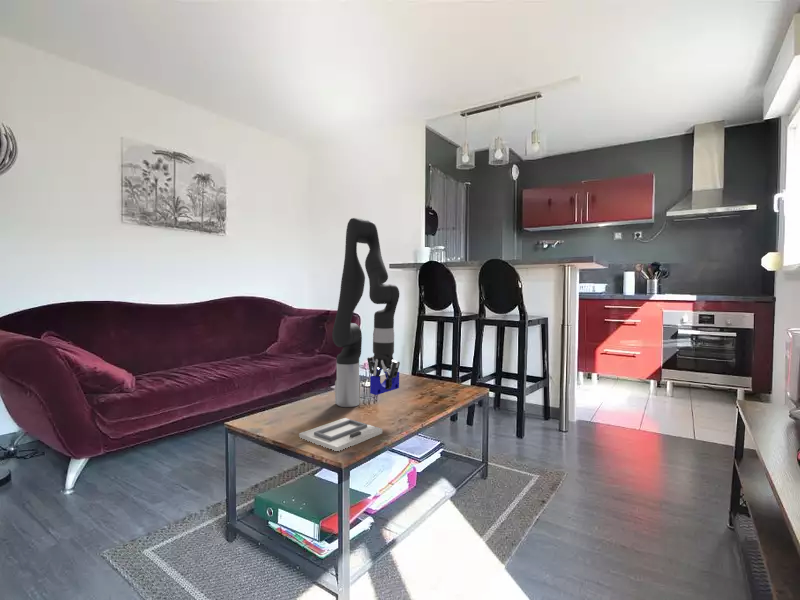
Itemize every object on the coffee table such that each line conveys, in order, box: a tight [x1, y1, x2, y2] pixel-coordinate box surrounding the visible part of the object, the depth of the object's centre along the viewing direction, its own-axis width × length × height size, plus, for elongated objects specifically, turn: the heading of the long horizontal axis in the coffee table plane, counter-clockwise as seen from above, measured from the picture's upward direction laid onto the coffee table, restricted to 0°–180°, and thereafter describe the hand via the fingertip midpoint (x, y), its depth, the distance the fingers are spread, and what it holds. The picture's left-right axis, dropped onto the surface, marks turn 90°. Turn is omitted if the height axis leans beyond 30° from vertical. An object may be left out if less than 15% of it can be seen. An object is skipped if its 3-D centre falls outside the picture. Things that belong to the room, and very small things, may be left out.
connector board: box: [298, 417, 383, 452], centre depth 138 cm, size 18×20×2 cm
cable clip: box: [369, 371, 400, 396], centre depth 151 cm, size 12×4×6 cm, turn 140°
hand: (382, 387), depth 151 cm, fingers closed on cable clip, 4 cm apart
